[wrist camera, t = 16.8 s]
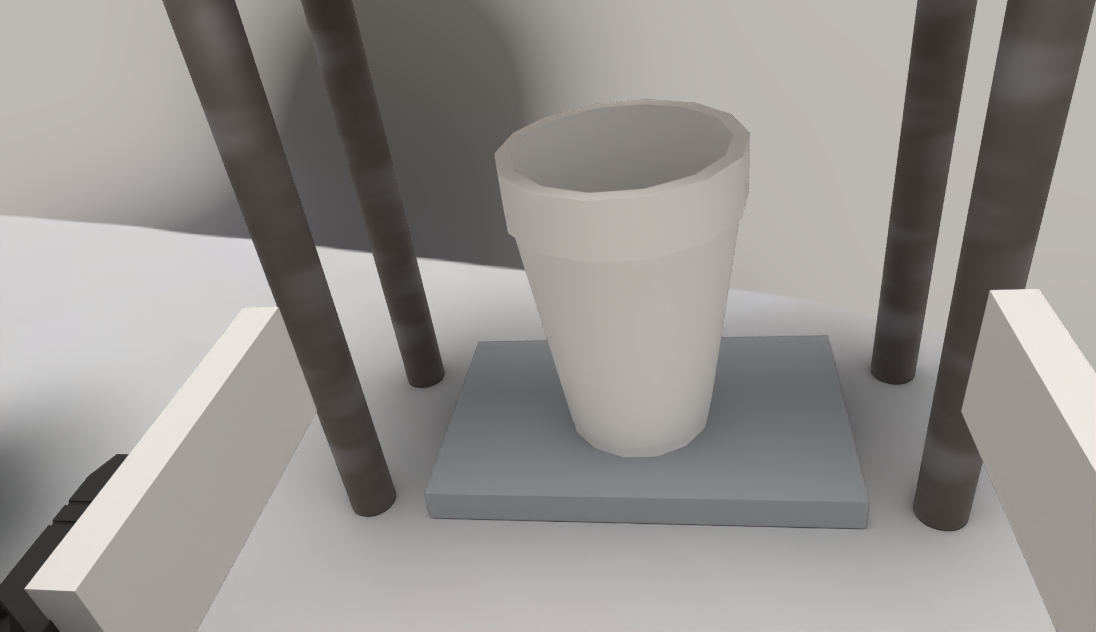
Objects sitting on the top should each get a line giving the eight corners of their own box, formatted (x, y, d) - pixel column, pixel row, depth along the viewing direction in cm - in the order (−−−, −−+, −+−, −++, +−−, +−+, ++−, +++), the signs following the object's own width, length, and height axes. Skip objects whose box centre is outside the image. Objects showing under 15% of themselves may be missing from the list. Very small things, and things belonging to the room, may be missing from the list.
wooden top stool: (345, 515, 36) (71, -198, 21) (414, 364, 44) (256, -210, 30) (975, 531, 31) (1209, -386, 16) (909, 358, 40) (1019, -332, 25)
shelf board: (431, 517, 35) (424, 493, 34) (483, 363, 44) (478, 341, 43) (866, 528, 31) (869, 502, 31) (825, 359, 40) (827, 335, 40)
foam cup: (574, 340, 42) (542, 100, 35) (754, 357, 39) (760, 97, 32) (511, 468, 35) (455, 197, 27) (727, 500, 32) (727, 205, 24)
